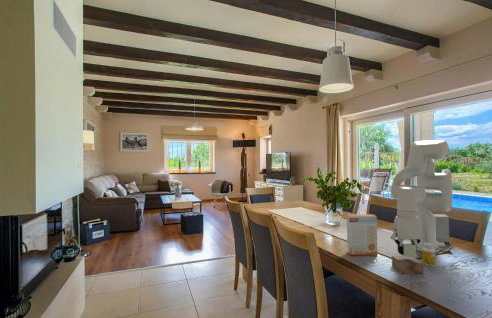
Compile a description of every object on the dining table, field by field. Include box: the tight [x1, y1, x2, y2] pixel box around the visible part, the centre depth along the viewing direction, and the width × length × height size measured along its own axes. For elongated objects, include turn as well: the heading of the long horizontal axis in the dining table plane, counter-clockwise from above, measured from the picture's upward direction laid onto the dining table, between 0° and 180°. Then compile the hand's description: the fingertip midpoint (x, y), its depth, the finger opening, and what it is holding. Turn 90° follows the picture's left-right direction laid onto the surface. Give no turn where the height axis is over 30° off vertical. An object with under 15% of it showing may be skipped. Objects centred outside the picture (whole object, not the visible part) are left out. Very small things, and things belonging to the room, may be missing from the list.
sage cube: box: [402, 241, 417, 258], centre depth 121 cm, size 5×5×5 cm
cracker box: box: [346, 213, 378, 257], centre depth 141 cm, size 14×6×21 cm, turn 84°
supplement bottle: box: [421, 243, 437, 267], centre depth 127 cm, size 5×5×10 cm
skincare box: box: [433, 213, 450, 243], centre depth 161 cm, size 8×7×16 cm
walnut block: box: [391, 255, 425, 275], centre depth 121 cm, size 9×9×5 cm
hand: (407, 253), depth 121 cm, fingers closed on sage cube, 5 cm apart
